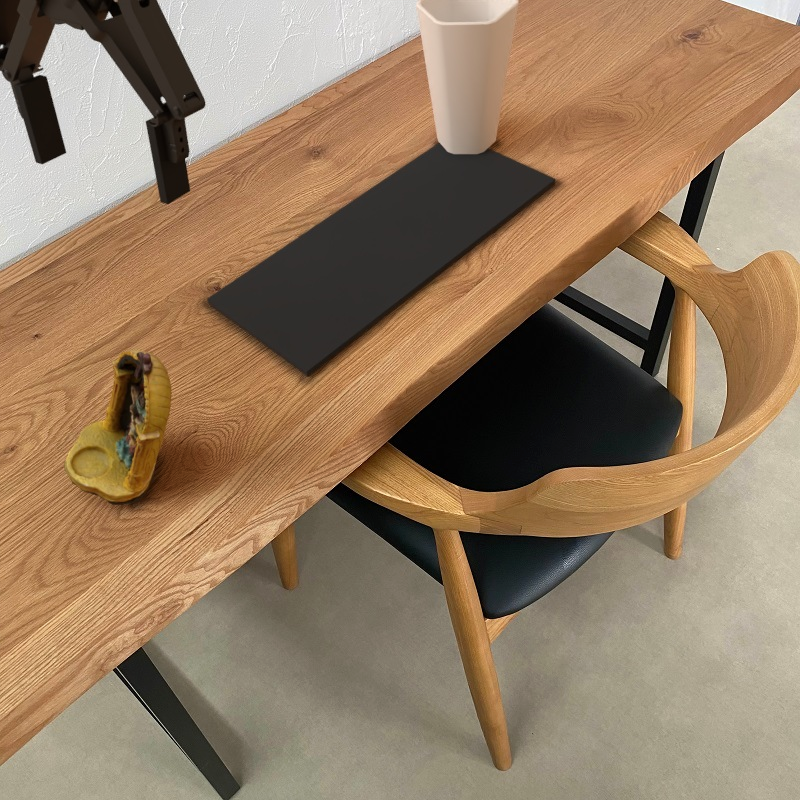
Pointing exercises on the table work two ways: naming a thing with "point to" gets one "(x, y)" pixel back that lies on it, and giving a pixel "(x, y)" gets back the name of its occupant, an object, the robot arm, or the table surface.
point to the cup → (467, 67)
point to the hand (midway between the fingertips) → (111, 176)
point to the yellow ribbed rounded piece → (124, 433)
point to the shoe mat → (376, 253)
